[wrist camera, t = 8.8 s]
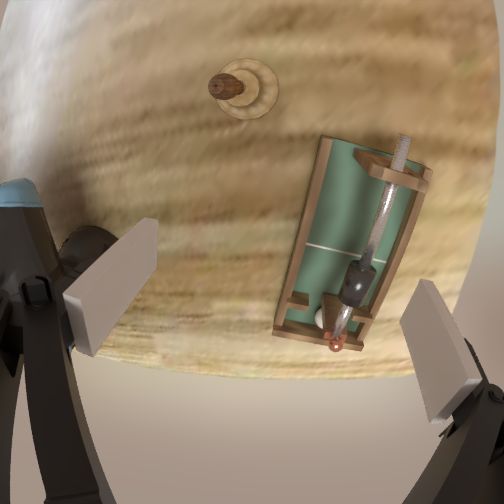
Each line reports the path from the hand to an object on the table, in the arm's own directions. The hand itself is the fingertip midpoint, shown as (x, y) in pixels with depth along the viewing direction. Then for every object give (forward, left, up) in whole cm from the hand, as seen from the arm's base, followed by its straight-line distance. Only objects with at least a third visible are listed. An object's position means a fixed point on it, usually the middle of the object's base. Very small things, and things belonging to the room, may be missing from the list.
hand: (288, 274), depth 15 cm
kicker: (+10, -6, -27) cm, 30 cm away
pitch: (+10, -11, -29) cm, 32 cm away
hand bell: (-8, +8, -29) cm, 31 cm away
